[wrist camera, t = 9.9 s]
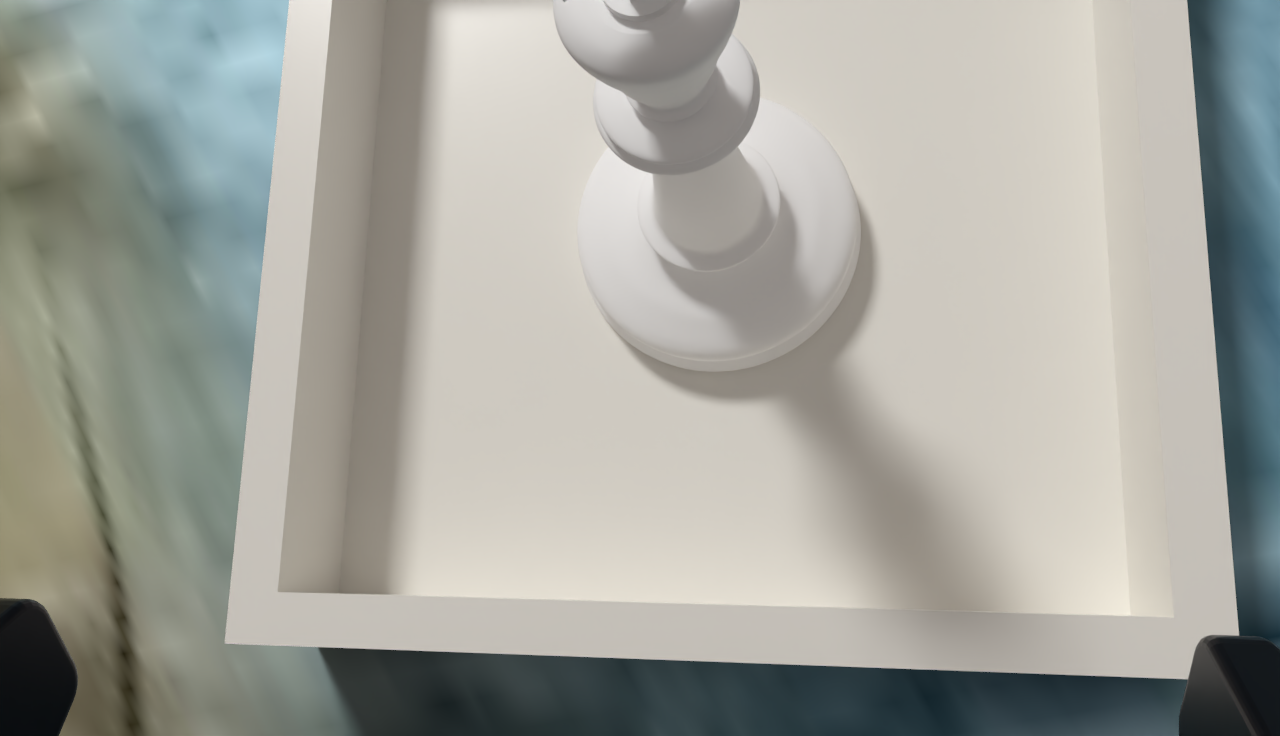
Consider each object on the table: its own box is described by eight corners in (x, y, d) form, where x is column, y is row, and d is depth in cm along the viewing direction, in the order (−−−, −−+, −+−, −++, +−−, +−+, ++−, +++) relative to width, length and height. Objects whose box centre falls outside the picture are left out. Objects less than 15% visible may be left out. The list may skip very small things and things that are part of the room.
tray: (1174, 668, 17) (1242, 681, 15) (312, 637, 20) (224, 643, 17) (1116, -146, 20) (1165, -269, 17) (374, -85, 23) (308, -185, 20)
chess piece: (915, 281, 19) (1010, -64, 9) (662, 424, 19) (487, 240, 9) (770, 55, 20) (715, -459, 10) (534, 192, 20) (261, -185, 10)
